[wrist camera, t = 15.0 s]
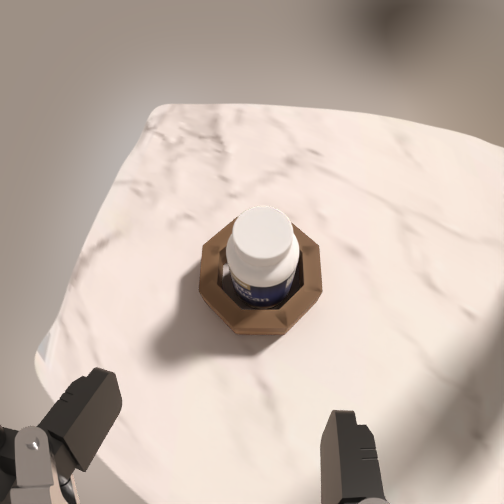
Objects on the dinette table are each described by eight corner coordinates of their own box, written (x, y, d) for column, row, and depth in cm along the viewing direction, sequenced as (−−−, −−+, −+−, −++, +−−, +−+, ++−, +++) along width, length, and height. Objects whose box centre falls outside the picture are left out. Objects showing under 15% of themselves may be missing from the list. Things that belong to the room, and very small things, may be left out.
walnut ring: (261, 214, 32) (260, 197, 29) (336, 279, 29) (344, 267, 26) (184, 279, 29) (177, 267, 26) (260, 358, 26) (260, 354, 23)
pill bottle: (225, 300, 28) (208, 255, 19) (244, 249, 30) (236, 188, 21) (282, 317, 27) (292, 279, 18) (297, 264, 29) (312, 207, 21)
